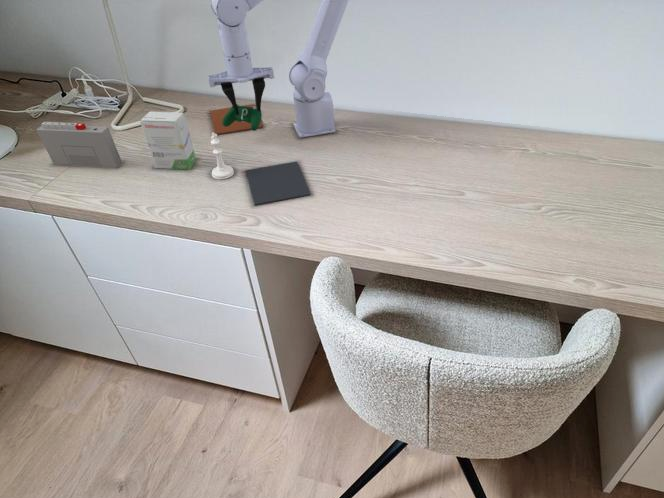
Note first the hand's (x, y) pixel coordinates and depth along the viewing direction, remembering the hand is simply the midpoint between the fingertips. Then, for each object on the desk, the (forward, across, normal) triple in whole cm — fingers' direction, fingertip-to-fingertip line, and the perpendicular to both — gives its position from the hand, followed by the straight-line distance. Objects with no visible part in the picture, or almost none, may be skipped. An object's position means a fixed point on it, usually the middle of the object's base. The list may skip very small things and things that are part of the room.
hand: (247, 111), depth 117 cm
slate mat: (+8, +2, -20) cm, 22 cm away
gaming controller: (+3, -1, 0) cm, 3 cm away
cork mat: (+8, -3, +14) cm, 16 cm away
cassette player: (+8, -39, +3) cm, 40 cm away
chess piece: (+8, -9, -12) cm, 17 cm away
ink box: (+8, -19, -4) cm, 21 cm away
